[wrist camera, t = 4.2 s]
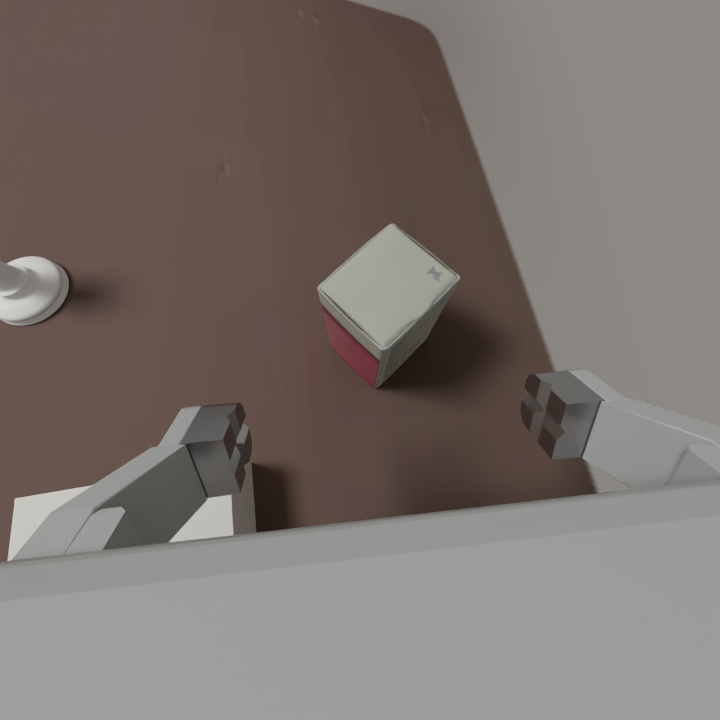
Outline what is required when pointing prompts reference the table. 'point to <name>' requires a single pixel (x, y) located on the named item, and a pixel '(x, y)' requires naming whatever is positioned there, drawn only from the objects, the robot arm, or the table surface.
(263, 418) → the table surface
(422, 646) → the robot arm
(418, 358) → the table surface
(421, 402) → the table surface
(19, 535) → the off-white block
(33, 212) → the table surface
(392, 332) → the small box
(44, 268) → the chess piece
